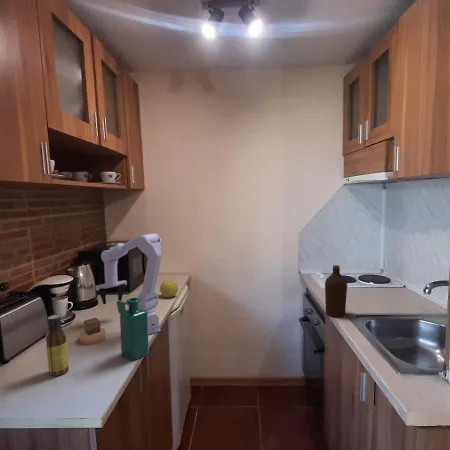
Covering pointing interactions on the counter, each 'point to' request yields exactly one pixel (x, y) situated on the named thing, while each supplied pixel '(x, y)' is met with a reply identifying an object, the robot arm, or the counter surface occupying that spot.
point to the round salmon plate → (92, 337)
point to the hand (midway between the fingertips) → (112, 302)
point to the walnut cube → (91, 326)
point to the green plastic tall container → (133, 329)
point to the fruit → (168, 289)
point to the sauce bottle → (56, 347)
